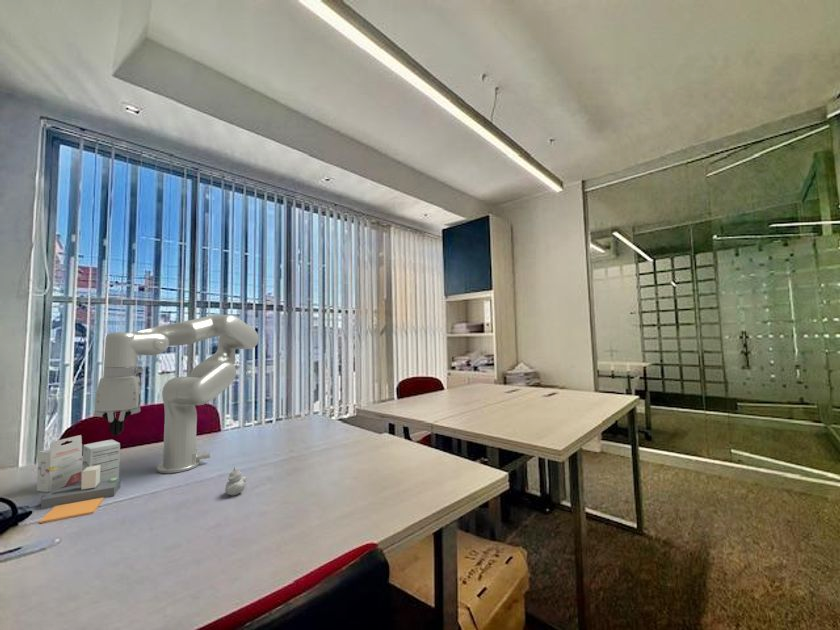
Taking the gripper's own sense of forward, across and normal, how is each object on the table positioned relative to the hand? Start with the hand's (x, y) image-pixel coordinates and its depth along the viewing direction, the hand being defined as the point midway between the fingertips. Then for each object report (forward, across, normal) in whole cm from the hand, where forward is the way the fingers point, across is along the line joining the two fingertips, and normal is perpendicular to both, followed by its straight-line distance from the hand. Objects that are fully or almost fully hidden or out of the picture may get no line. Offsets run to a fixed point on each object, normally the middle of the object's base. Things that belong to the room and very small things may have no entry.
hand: (116, 434), depth 103 cm
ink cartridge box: (+17, +16, -14) cm, 27 cm away
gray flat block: (+17, +7, 0) cm, 18 cm away
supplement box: (+17, +5, -9) cm, 20 cm away
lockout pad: (+17, +6, +9) cm, 20 cm away
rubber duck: (+17, -32, +19) cm, 41 cm away
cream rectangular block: (+14, +5, 0) cm, 15 cm away
